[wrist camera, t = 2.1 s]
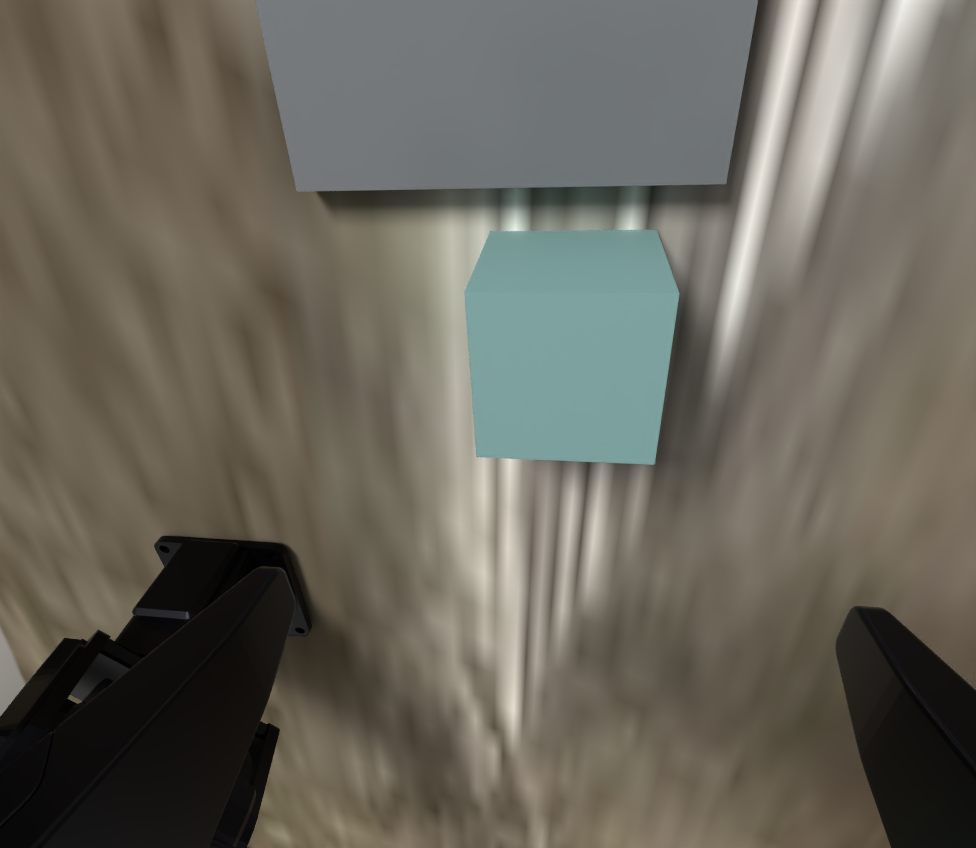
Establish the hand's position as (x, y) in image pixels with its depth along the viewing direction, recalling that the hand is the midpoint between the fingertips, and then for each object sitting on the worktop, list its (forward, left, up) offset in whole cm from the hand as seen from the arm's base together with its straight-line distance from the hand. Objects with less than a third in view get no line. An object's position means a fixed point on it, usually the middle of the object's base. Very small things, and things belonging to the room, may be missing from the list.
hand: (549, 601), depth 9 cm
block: (0, 0, -12) cm, 12 cm away
